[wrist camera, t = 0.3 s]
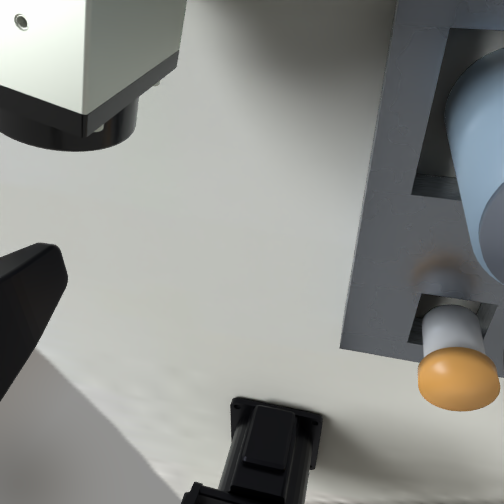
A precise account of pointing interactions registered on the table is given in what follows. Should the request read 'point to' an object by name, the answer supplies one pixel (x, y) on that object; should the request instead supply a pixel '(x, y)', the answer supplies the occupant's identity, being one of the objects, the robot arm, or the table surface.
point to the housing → (416, 200)
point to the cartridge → (480, 156)
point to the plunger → (455, 361)
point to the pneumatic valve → (82, 67)
